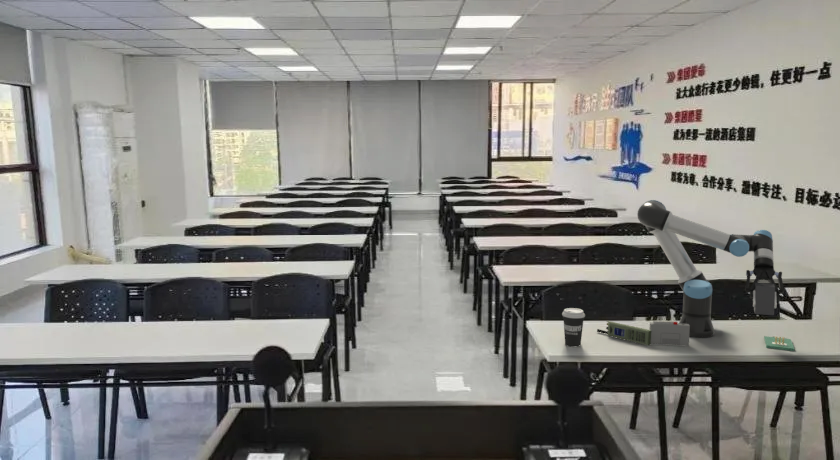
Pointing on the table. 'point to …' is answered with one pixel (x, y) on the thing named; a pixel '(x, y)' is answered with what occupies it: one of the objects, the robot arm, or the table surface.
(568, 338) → the coffee cup
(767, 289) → the block
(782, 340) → the header board
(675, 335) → the cassette player
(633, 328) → the handheld radio
